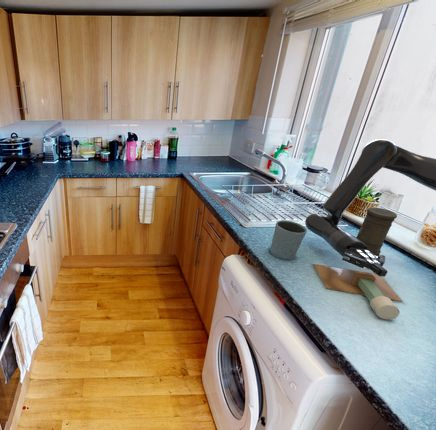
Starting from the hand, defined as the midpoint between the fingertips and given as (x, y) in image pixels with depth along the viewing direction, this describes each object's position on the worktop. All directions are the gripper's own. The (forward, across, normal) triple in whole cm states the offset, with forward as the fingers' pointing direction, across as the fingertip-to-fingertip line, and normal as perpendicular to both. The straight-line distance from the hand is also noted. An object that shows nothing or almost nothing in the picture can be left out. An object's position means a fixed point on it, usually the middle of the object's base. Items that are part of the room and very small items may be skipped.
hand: (383, 274), depth 86 cm
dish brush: (-6, 0, +6) cm, 8 cm away
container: (-27, +15, +9) cm, 32 cm away
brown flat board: (-7, -1, +8) cm, 11 cm away
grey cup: (-23, -17, +9) cm, 30 cm away
